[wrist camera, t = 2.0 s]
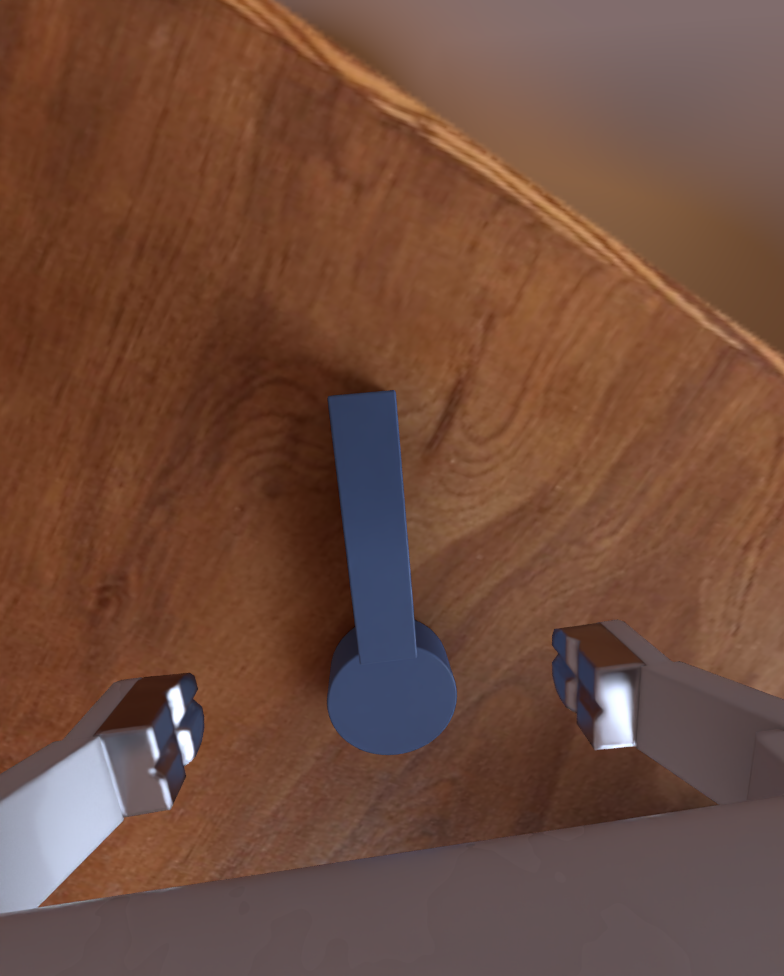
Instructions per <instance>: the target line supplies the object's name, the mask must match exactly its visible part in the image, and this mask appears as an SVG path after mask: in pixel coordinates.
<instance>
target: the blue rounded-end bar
mask: <svg viewBox="0 0 784 976" xmlns="http://www.w3.org/2000/svg"><path fill="white" fill-rule="evenodd" d="M328 407H329V415H330V424H331V432H332V440H333V448H334V457H335V465H336V473H337V481H338V490H339V498H340V506H341V514H342V523H343V531H344V539H345V547H346V556H347V564H348V572H349V580H350V589H351V597H352V605H353V613H354V622H355V628H353V629H352V630H351V631H349V632H348V633H347V634H346V635H345V636H344V637H343V639H342V640H341V641H340V643H339V644H338V646H337V648H336V649H335V652H334V654H333V658H332V662H331V670H330V678H329V686H328V695H327V709H328V713H329V717H330V719H331V722H332V724H333V726H334V728H335V729H336V731H337V732H338V733H339V734H340V736H341V737H342V738H343V739H345V740H346V741H347V742H348V743H350V744H351V745H353V746H355V747H356V748H358V749H361V750H363V751H366V752H369V753H373V754H380V755H396V754H403V753H407V752H411V751H414V750H416V749H419V748H421V747H423V746H425V745H426V744H428V743H430V742H431V741H432V740H434V739H435V738H436V737H437V736H438V735H439V734H441V732H442V731H443V730H444V729H445V728H446V726H447V725H448V723H449V722H450V720H451V718H452V716H453V713H454V710H455V707H456V701H457V689H456V683H455V680H454V677H453V674H452V671H451V668H450V664H449V661H448V658H447V655H446V652H445V649H444V647H443V645H442V643H441V641H440V640H439V638H438V637H437V635H436V634H435V633H434V632H433V631H432V630H430V629H429V628H428V627H427V626H425V625H424V624H422V623H420V622H418V621H416V620H414V609H413V597H412V585H411V573H410V561H409V548H408V536H407V524H406V512H405V500H404V487H403V475H402V463H401V451H400V439H399V427H398V414H397V402H396V392H395V391H394V390H390V391H378V392H367V393H356V394H344V395H333V396H328Z"/></svg>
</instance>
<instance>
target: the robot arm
mask: <svg viewBox="0 0 784 976" xmlns="http://www.w3.org/2000/svg"><path fill="white" fill-rule="evenodd" d="M552 646H553V647H554V648H555V650H556V651H557V652H558V655H557V656H556V657H555V659H554V660H553V662H552V676H553V680H554V684H555V688H556V691H557V693H558V695H559V697H560V699H561V701H562V702H563V704H564V705H565V707H566V708H568V709H570V710H571V711H573V712H575V713H577V725H578V726H579V728H580V729H581V731H582V732H583V734H584V735H585V737H586V738H587V739H588V741H589V742H590V744H591V745H592V747H593V748H594V750H601V749H610V748H619V747H629V746H636V748H637V749H639V750H640V751H642V752H643V753H644V754H646V755H647V756H649V757H650V758H652V759H653V760H655V761H656V762H658V763H659V764H660V765H662V766H663V767H665V768H666V769H668V770H669V771H671V772H672V773H674V774H675V775H676V776H678V777H679V778H681V779H682V780H684V781H685V782H687V783H688V784H690V785H691V786H693V787H694V788H695V789H697V790H698V791H700V792H701V793H703V794H704V795H706V796H707V797H709V798H710V799H711V800H713V801H714V802H716V803H717V804H719V805H715V806H709V807H702V808H696V809H689V810H683V811H676V812H670V813H663V814H657V815H650V816H644V817H637V818H631V819H624V820H617V821H611V822H604V823H597V824H590V825H584V826H577V827H570V828H563V829H557V830H550V831H543V832H537V833H530V834H523V835H516V836H510V837H503V838H496V839H489V840H483V841H476V842H469V843H462V844H456V845H449V846H443V847H436V848H429V849H423V850H416V851H410V852H403V853H396V854H390V855H383V856H376V857H370V858H363V859H357V860H350V861H343V862H337V863H330V864H324V865H317V866H310V867H304V868H297V869H291V870H284V871H277V872H271V873H264V874H258V875H251V876H244V877H238V878H231V879H224V880H218V881H211V882H204V883H198V884H191V885H185V886H178V887H171V888H165V889H158V890H151V891H145V892H138V893H131V894H125V895H118V896H112V897H105V898H98V899H92V900H85V901H78V902H72V903H65V904H59V905H52V906H45V907H39V908H37V907H38V906H39V905H40V904H41V903H42V902H43V901H44V900H45V899H46V898H47V897H48V896H49V895H50V894H51V893H52V892H53V891H54V890H55V889H56V888H57V887H58V886H59V885H60V884H61V883H62V882H63V881H64V880H65V879H66V878H67V877H68V876H69V875H70V874H71V873H72V872H73V871H74V870H75V869H76V868H77V867H78V866H79V865H80V864H81V863H82V862H83V861H84V860H85V859H86V858H87V857H88V856H89V855H90V854H91V853H92V852H93V851H94V850H95V849H96V848H97V847H98V846H99V845H100V844H101V843H102V842H103V841H104V840H105V838H106V837H107V836H108V835H109V834H110V833H111V832H112V831H113V830H114V829H115V828H116V827H117V826H118V825H119V824H120V823H121V822H122V821H123V820H124V819H123V817H129V816H135V815H141V814H147V813H152V812H158V811H164V810H170V809H171V808H172V805H173V803H174V801H175V799H176V797H177V795H178V793H179V791H180V789H181V786H182V784H183V782H184V780H185V778H186V773H185V769H184V766H185V765H186V764H188V763H189V762H190V761H191V760H192V759H193V758H194V757H196V754H197V752H198V750H199V748H200V745H201V742H202V737H203V732H204V714H203V709H202V706H201V705H199V704H198V703H197V702H196V701H195V700H194V699H193V697H194V696H195V694H196V692H197V690H198V687H197V683H196V679H195V676H194V675H192V674H191V673H181V674H171V675H161V676H151V677H144V678H133V679H125V680H120V681H117V682H115V683H113V684H112V685H111V686H110V688H109V689H108V690H107V691H106V692H105V693H104V694H103V695H102V696H101V698H100V699H99V700H98V701H97V702H96V703H95V704H94V705H93V707H92V708H91V709H90V710H89V711H88V712H87V713H86V714H85V715H84V717H83V718H82V719H81V720H80V721H79V722H78V723H77V724H76V726H75V727H74V728H73V729H72V730H71V731H70V732H69V733H68V734H67V736H66V737H65V738H64V739H63V740H62V741H56V742H52V743H51V744H49V745H47V746H46V747H44V748H43V749H41V750H39V751H38V752H36V753H34V754H33V755H31V756H29V757H28V758H26V759H24V760H23V761H21V762H20V763H18V764H16V765H15V766H13V767H11V768H10V769H8V770H6V771H5V772H3V773H1V774H0V976H784V699H781V698H778V697H775V696H773V695H770V694H767V693H765V692H762V691H759V690H756V689H754V688H751V687H748V686H746V685H743V684H740V683H737V682H735V681H732V680H729V679H727V678H724V677H721V676H718V675H716V674H713V673H710V672H708V671H705V670H702V669H699V668H697V667H694V666H691V665H688V664H686V663H683V662H680V661H679V662H672V661H671V660H670V659H668V658H667V657H666V656H665V655H664V654H662V653H661V652H660V651H659V650H658V649H656V648H655V647H654V646H653V645H652V644H650V643H649V642H648V641H647V640H645V639H644V638H643V637H642V636H641V635H639V634H638V633H637V632H636V631H635V630H633V629H632V628H631V627H630V626H629V625H627V624H626V623H625V622H624V621H621V620H618V619H617V620H611V621H604V622H598V623H594V624H587V625H580V626H573V627H565V628H558V629H554V632H553V635H552Z"/></svg>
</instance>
